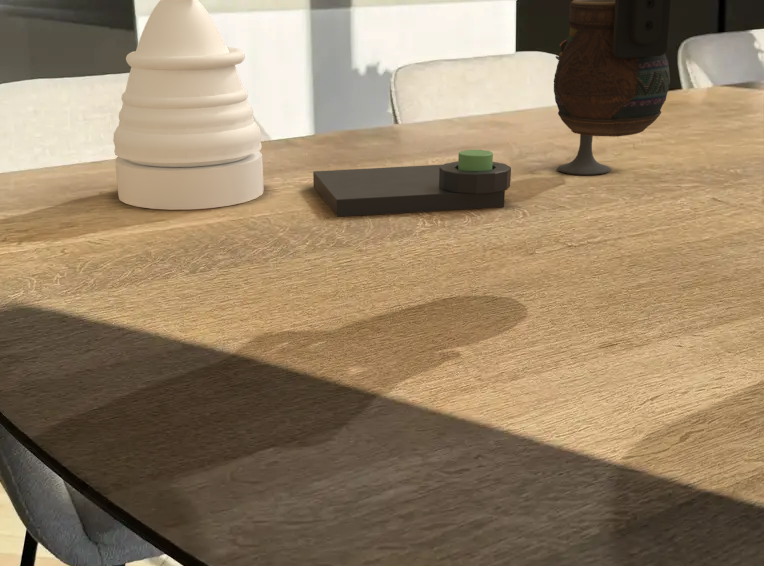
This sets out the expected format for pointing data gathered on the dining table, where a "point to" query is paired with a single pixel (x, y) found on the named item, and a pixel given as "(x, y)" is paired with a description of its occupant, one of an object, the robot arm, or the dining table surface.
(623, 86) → the mate gourd
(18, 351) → the dining table surface
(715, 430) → the dining table surface
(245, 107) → the honey pot
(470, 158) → the button
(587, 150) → the sundae
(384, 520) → the dining table surface
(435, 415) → the dining table surface
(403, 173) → the black green button base
